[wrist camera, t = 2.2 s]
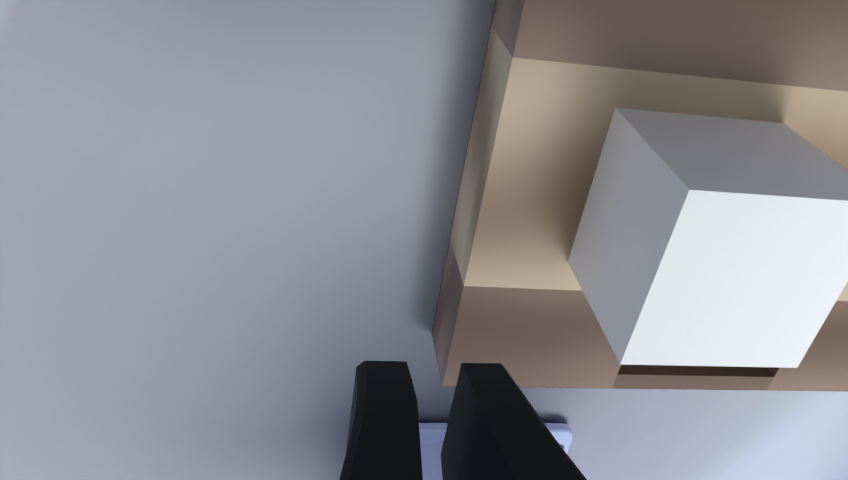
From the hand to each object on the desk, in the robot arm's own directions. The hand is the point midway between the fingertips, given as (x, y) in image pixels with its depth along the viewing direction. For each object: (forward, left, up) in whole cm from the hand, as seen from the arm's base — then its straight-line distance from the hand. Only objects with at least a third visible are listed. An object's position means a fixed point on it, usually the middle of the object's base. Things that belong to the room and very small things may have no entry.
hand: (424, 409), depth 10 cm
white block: (0, -8, -8) cm, 11 cm away
